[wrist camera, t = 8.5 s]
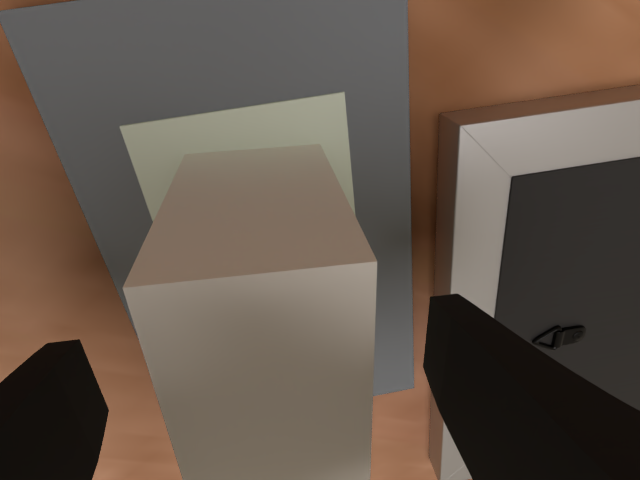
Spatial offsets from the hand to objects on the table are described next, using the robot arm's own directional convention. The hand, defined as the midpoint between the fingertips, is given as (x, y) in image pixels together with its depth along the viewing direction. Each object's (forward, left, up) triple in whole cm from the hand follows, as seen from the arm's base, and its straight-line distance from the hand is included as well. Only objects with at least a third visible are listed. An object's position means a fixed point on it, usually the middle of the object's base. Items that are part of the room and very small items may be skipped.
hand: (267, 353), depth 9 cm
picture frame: (+5, +16, -6) cm, 18 cm away
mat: (0, 0, -5) cm, 5 cm away
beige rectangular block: (0, 0, -4) cm, 4 cm away
